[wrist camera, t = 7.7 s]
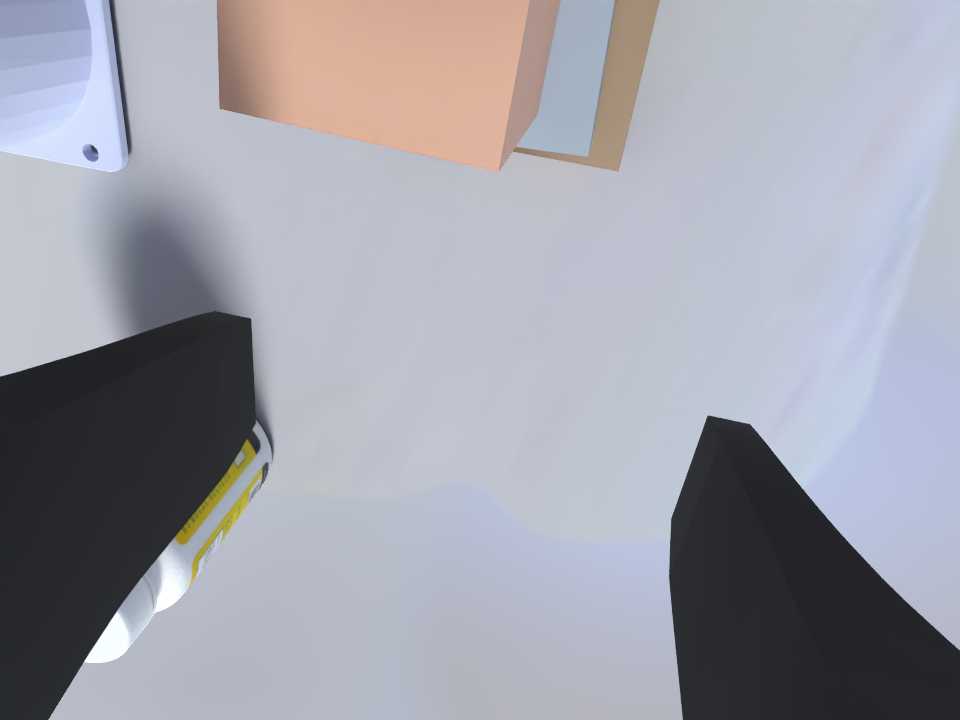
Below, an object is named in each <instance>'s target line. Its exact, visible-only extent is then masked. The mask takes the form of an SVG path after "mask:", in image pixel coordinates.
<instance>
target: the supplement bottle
mask: <svg viewBox="0 0 960 720" xmlns="http://www.w3.org/2000/svg"><path fill="white" fill-rule="evenodd" d="M271 464H272V452H271V447H270V444H269V441H268V439H267V437H266V434H265V433H264V431H263V429H262V427H261V426H260V424H259V423H258V422H257V420H256V424H255V426H254V428H253V430H252V431H251V433H250V435H249V437H248V438H247V440H246V442H245V444H244V445H243V447H242V449H241V451H240V452H239V454H238V455H237V457H236V459H235V460H234V462H233V464H232V465H231V467H230V468H229V470H228V472H227V473H226V474H225V476H224V477H223V478H222V479H221V481H220V482H219V483H218V485H217V486H216V487H215V488H214V490H213V491H212V492H211V493H210V495H209V496H208V497H207V498H206V500H205V501H204V502H203V503H202V505H201V506H200V507H199V508H198V510H197V511H196V512H195V513H194V514H193V516H192V517H191V518H190V519H189V521H188V522H187V523H186V524H185V525H184V527H183V528H182V529H181V530H180V532H179V533H178V534H177V535H176V536H175V538H174V539H173V540H172V541H171V543H170V544H169V545H168V546H167V547H166V549H165V550H164V551H163V552H162V554H161V555H160V556H159V557H158V558H157V560H156V561H155V562H154V563H153V565H152V566H151V567H150V568H149V569H148V571H147V572H146V573H145V574H144V576H143V577H142V578H141V579H140V581H139V582H138V583H137V585H136V586H135V587H134V589H133V590H132V591H131V593H130V594H129V595H128V597H127V598H126V599H125V601H124V602H123V603H122V605H121V606H120V608H119V609H118V611H117V612H116V614H115V615H114V617H113V618H112V620H111V621H110V623H109V624H108V626H107V627H106V629H105V630H104V632H103V634H102V635H101V637H100V638H99V640H98V641H97V643H96V644H95V646H94V647H93V649H92V650H91V652H90V653H89V655H88V656H87V658H86V659H85V661H84V662H90V663H100V662H108V661H111V660H114V659H116V658H118V657H120V656H121V655H123V654H124V653H125V651H127V649H128V648H129V647H130V646H131V644H132V643H133V642H134V640H135V639H136V638H137V636H138V635H139V634H140V633H141V632H142V630H143V629H144V628H145V627H146V626H147V624H148V623H149V622H150V619H151V618H152V616H153V615H154V613H155V612H158V611H161V610H163V609H166V608H167V607H169V606H171V605H172V604H174V603H175V602H176V601H177V600H179V598H180V597H181V596H182V595H183V594H184V593H185V592H186V590H187V589H188V588H189V587H190V585H191V584H192V582H193V581H194V579H195V578H196V577H197V575H198V574H199V572H200V571H201V570H202V568H203V567H204V565H205V564H206V562H207V561H208V560H209V558H210V557H211V556H212V554H213V553H214V551H215V550H216V549H217V547H218V546H219V544H220V543H221V542H222V540H223V539H224V537H225V536H226V534H227V533H228V532H229V530H230V529H231V527H232V526H233V525H234V523H235V522H236V521H237V519H238V518H239V516H240V515H241V514H242V512H243V511H244V509H245V508H246V507H247V505H248V504H249V503H250V501H251V499H252V498H253V497H254V495H255V494H256V492H257V491H258V490H259V489H260V487H261V485H262V484H263V483H264V481H265V480H266V478H267V476H268V474H269V472H270V469H271Z"/></svg>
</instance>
